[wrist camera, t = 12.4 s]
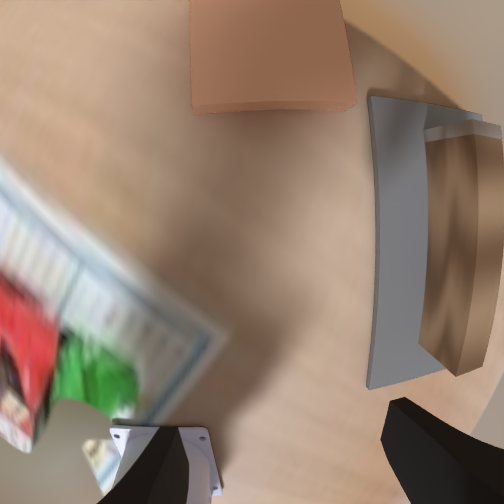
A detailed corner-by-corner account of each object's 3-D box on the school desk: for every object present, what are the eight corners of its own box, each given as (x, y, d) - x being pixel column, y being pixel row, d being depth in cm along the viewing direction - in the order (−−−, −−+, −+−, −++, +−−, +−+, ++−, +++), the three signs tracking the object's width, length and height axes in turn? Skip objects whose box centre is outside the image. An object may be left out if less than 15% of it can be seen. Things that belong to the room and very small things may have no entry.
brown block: (443, 336, 20) (482, 366, 15) (417, 343, 20) (455, 376, 15) (451, 133, 17) (500, 125, 12) (422, 130, 17) (472, 119, 12)
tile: (357, 103, 16) (334, -18, 14) (191, 106, 15) (189, -20, 13) (344, 111, 18) (325, -3, 16) (196, 115, 17) (192, -3, 15)
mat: (464, 357, 22) (468, 360, 21) (365, 385, 21) (368, 390, 20) (476, 115, 18) (481, 114, 17) (367, 98, 17) (370, 95, 16)
